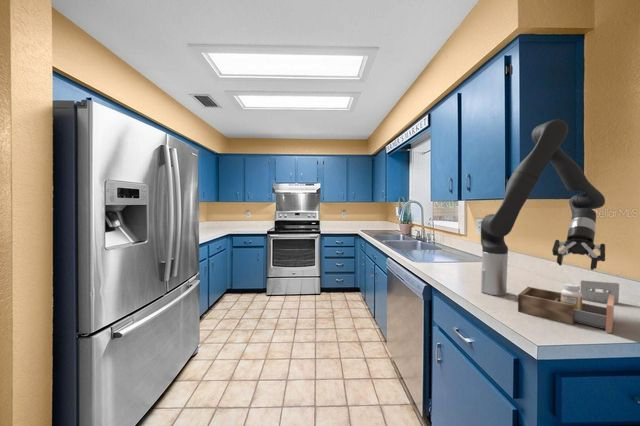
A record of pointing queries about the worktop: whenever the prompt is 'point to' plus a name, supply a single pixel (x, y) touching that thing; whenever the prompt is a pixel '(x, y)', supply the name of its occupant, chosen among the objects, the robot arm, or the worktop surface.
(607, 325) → the drawer
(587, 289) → the cassette
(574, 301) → the supplement bottle
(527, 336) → the worktop surface
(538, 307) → the caddy
